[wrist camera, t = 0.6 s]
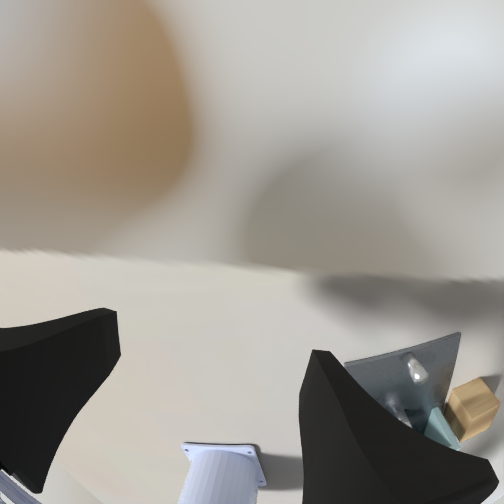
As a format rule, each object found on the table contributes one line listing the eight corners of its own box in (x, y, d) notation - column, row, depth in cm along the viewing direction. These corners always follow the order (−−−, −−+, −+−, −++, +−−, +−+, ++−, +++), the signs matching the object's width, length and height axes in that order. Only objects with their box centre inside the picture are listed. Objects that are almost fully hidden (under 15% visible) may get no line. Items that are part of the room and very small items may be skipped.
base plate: (425, 446, 22) (433, 465, 18) (341, 469, 23) (344, 491, 20) (458, 332, 18) (477, 351, 15) (344, 362, 20) (352, 390, 16)
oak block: (470, 402, 20) (488, 428, 15) (443, 413, 20) (460, 443, 16) (479, 376, 19) (500, 402, 14) (451, 388, 20) (471, 418, 15)
